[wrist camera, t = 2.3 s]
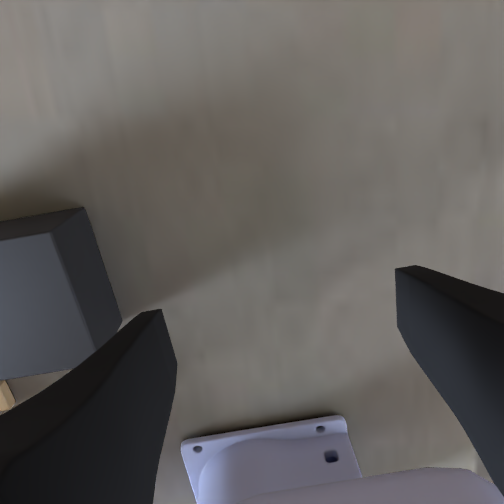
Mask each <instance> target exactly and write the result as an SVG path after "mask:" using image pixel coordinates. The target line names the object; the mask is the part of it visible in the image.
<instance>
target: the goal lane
mask: <svg viewBox="0 0 504 504" xmlns="http://www.w3.org/2000/svg"><path fill="white" fill-rule="evenodd" d="M15 402H16V401H15V399H14V397H13V395H12V393H11V391H10V389H9V387H8V385H7V383H6V381H5V380H2V381H0V411H4V410H10V409H11V408H12V406H13V405H14V403H15Z"/></svg>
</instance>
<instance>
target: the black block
mask: <svg viewBox="0 0 504 504" xmlns="http://www.w3.org/2000/svg"><path fill="white" fill-rule="evenodd" d="M121 323H122V318H121V315H120V312H119V309H118V306H117V303H116V300H115V297H114V294H113V291H112V288H111V285H110V282H109V279H108V276H107V273H106V270H105V267H104V264H103V261H102V258H101V255H100V252H99V249H98V246H97V243H96V240H95V237H94V234H93V231H92V228H91V225H90V222H89V219H88V216H87V213H86V210H85V208H84V207H81V208H75V209H70V210H64V211H58V212H53V213H47V214H41V215H36V216H30V217H24V218H19V219H13V220H7V221H1V222H0V381H2V380H8V379H14V378H20V377H26V376H32V375H38V374H44V373H50V372H56V371H62V370H68V369H74V368H76V367H77V366H78V365H79V364H81V363H82V362H83V361H84V360H85V359H87V358H88V357H89V356H90V355H92V354H93V353H94V352H95V351H97V350H98V349H99V348H100V347H101V346H103V345H104V344H105V343H106V342H107V341H108V340H109V339H111V338H112V337H113V336H114V335H115V334H116V333H117V331H118V329H119V327H120V325H121Z"/></svg>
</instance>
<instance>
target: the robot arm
mask: <svg viewBox="0 0 504 504" xmlns="http://www.w3.org/2000/svg"><path fill="white" fill-rule="evenodd" d="M395 281H396V307H397V327H398V329H399V331H400V333H401V335H402V337H403V339H404V341H405V343H406V345H407V347H408V348H409V350H410V352H411V354H412V355H413V357H414V358H415V360H416V361H417V363H418V364H419V365H420V367H421V368H422V370H423V371H424V372H425V374H426V375H427V377H428V378H429V379H430V381H431V382H432V384H433V385H434V386H435V388H436V389H437V391H438V392H439V393H440V395H441V396H442V397H443V399H444V400H445V402H446V403H447V404H448V406H449V407H450V409H451V410H452V411H453V413H454V414H455V416H456V417H457V419H458V420H459V422H460V424H461V425H462V427H463V428H464V430H465V432H466V434H467V435H468V437H469V439H470V441H471V442H472V444H473V446H474V448H475V449H476V451H477V453H478V455H479V456H480V458H481V460H482V462H483V464H484V466H485V467H486V469H487V471H488V473H489V475H490V477H491V478H492V480H493V482H494V484H495V485H494V484H493V483H491V482H489V481H487V480H486V479H484V478H482V477H481V476H479V475H477V474H475V473H474V472H472V471H470V470H467V469H461V468H434V467H425V468H418V469H412V470H406V471H400V472H393V473H387V474H381V475H374V476H368V477H362V474H361V471H360V469H359V466H358V463H357V460H356V457H355V454H354V451H353V448H352V445H351V442H350V439H349V436H348V433H347V424H346V421H345V419H344V417H343V416H340V415H333V416H327V417H321V418H315V419H309V420H302V421H296V422H290V423H284V424H278V425H271V426H265V427H259V428H253V429H247V430H240V431H234V432H228V433H222V434H216V435H210V436H203V437H197V438H191V439H186V440H184V441H183V442H182V444H181V448H180V450H181V454H182V457H183V460H184V464H185V467H186V470H187V473H188V476H189V479H190V483H191V486H192V489H193V492H194V495H195V498H196V502H197V504H504V293H500V292H497V291H493V290H490V289H487V288H484V287H481V286H478V285H475V284H472V283H469V282H466V281H463V280H460V279H457V278H454V277H451V276H449V275H446V274H443V273H440V272H437V271H434V270H431V269H428V268H425V267H421V266H417V265H414V266H408V267H402V268H396V269H395ZM176 375H177V360H176V357H175V354H174V350H173V347H172V343H171V340H170V337H169V333H168V330H167V326H166V323H165V320H164V316H163V313H162V309H157V310H151V311H146V312H141V313H140V314H139V315H137V316H136V317H135V318H133V319H132V320H131V321H130V322H129V323H128V324H126V325H125V326H124V327H123V328H122V329H121V330H120V331H118V332H117V333H116V334H115V335H114V336H113V337H112V338H111V339H109V340H108V341H107V342H106V343H105V344H104V345H103V346H101V347H100V348H99V349H98V350H97V351H95V352H94V353H93V354H92V355H90V356H89V357H88V358H87V359H85V360H84V361H83V362H82V363H81V364H79V365H78V366H77V367H76V368H74V369H73V370H72V371H70V372H69V373H68V374H66V375H65V376H63V377H62V378H61V379H59V380H58V381H56V382H55V383H53V384H52V385H50V386H49V387H47V388H46V389H44V390H43V391H41V392H40V393H38V394H36V395H35V396H33V397H31V398H30V399H28V400H26V401H25V402H23V403H21V404H19V405H18V406H16V407H14V408H13V409H11V410H9V411H8V412H6V413H4V414H2V415H0V504H153V497H154V489H155V481H156V474H157V469H158V464H159V459H160V454H161V450H162V446H163V442H164V437H165V433H166V429H167V425H168V421H169V416H170V412H171V408H172V403H173V399H174V394H175V386H176ZM318 426H322V427H320V428H318ZM196 446H200V447H196Z"/></svg>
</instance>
